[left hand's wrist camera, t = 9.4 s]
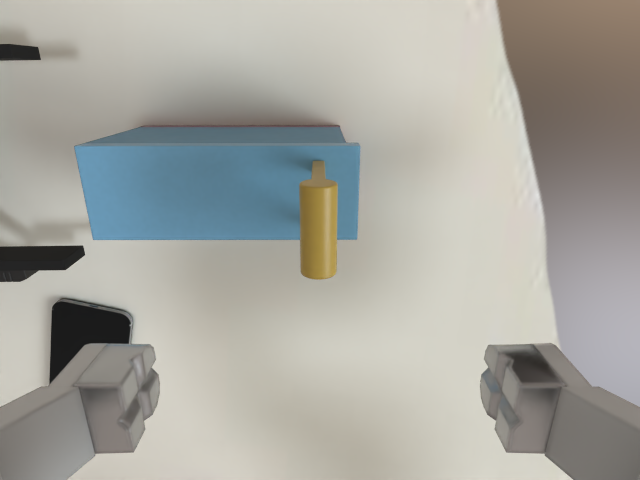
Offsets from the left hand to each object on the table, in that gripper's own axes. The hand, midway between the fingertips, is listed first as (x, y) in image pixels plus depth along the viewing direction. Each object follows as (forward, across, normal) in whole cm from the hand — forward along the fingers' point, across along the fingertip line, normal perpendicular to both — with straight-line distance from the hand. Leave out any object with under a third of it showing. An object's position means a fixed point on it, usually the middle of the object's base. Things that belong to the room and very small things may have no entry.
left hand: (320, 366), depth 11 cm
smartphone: (+27, +23, +20) cm, 41 cm away
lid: (+17, +6, 0) cm, 18 cm away
